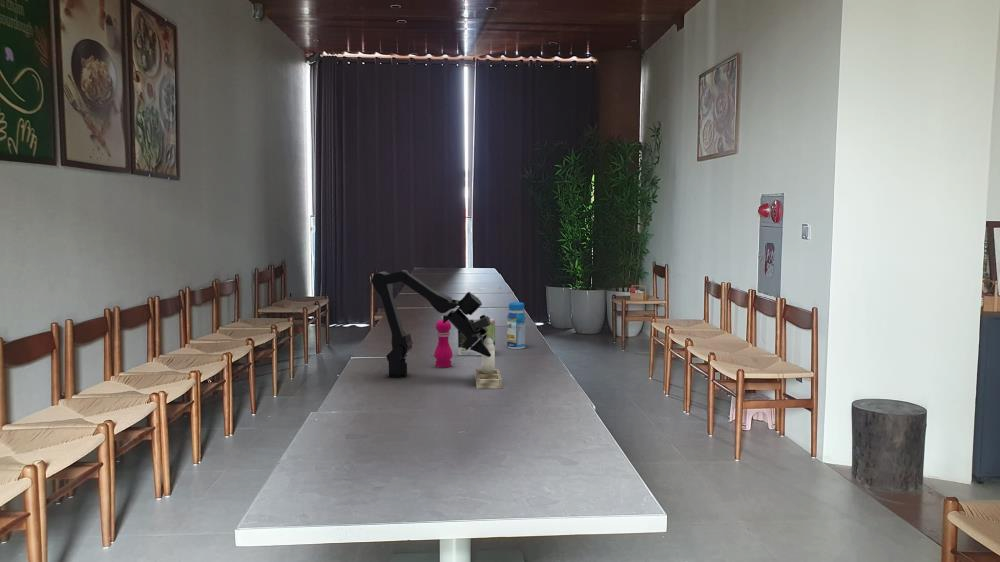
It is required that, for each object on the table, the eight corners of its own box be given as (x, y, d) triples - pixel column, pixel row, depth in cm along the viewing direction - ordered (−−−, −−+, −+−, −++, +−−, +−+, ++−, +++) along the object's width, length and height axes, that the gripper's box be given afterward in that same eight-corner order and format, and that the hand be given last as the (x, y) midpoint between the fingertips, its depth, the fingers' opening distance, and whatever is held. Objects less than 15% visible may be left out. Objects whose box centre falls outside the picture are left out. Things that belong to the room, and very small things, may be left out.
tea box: (495, 351, 326) (495, 318, 324) (492, 356, 316) (493, 321, 314) (461, 350, 327) (461, 317, 326) (457, 355, 317) (457, 321, 316)
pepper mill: (453, 364, 301) (453, 314, 299) (450, 368, 294) (450, 317, 292) (436, 363, 302) (436, 314, 300) (432, 367, 295) (432, 317, 292)
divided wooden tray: (476, 388, 262) (476, 380, 262) (475, 377, 279) (475, 369, 279) (502, 388, 263) (502, 380, 263) (499, 376, 280) (499, 369, 280)
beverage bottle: (525, 349, 331) (526, 304, 329) (506, 349, 332) (506, 304, 329) (525, 345, 340) (525, 301, 338) (506, 345, 340) (507, 301, 338)
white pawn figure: (479, 373, 273) (480, 338, 271) (483, 370, 277) (483, 336, 276) (492, 374, 272) (493, 339, 270) (495, 371, 276) (496, 336, 275)
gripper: (472, 312, 264) (502, 345, 263) (482, 305, 282) (511, 335, 281) (450, 333, 266) (480, 365, 265) (462, 325, 284) (490, 355, 283)
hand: (491, 354), depth 274 cm, fingers closed on white pawn figure, 5 cm apart
